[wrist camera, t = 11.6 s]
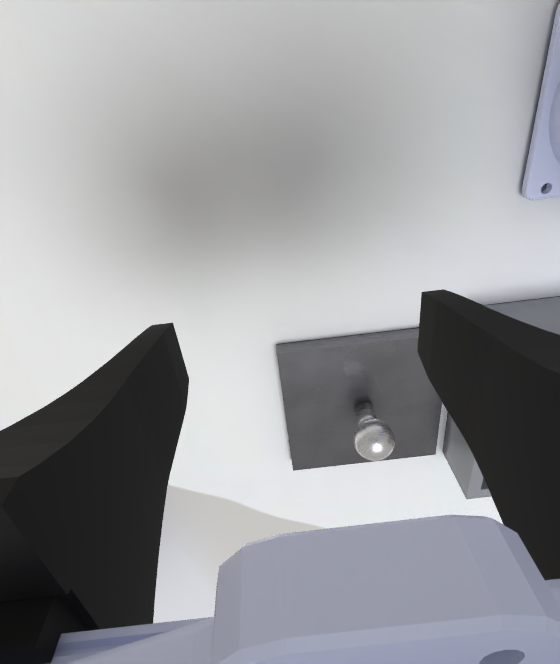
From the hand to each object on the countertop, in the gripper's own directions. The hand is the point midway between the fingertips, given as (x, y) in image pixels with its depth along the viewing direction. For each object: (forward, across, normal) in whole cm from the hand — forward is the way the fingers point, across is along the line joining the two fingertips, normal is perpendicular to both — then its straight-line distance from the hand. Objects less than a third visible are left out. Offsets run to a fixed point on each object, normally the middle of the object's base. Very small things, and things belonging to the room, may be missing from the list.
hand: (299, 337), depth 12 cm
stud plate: (+10, -4, +12) cm, 16 cm away
